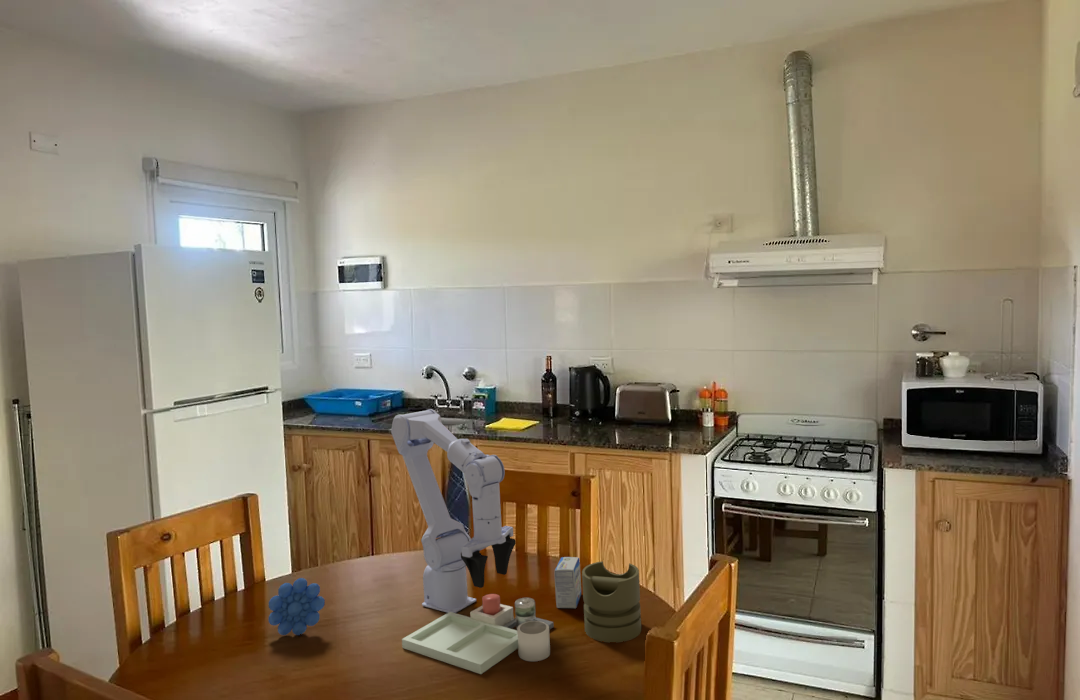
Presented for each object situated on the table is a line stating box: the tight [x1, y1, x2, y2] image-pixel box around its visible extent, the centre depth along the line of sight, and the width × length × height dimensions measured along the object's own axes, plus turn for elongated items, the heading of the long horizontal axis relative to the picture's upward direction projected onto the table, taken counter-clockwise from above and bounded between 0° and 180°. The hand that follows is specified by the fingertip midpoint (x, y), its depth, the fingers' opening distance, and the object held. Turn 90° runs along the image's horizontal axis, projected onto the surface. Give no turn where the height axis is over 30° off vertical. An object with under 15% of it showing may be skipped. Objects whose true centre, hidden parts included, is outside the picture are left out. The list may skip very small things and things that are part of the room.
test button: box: [481, 593, 501, 616], centre depth 152 cm, size 4×4×4 cm
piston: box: [581, 560, 642, 643], centre depth 147 cm, size 11×12×11 cm
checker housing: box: [469, 603, 515, 626], centre depth 152 cm, size 6×6×3 cm
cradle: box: [503, 617, 555, 631], centre depth 149 cm, size 8×8×1 cm
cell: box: [514, 597, 537, 630], centre depth 148 cm, size 4×4×6 cm
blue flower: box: [268, 577, 326, 636], centre depth 152 cm, size 12×7×12 cm, turn 94°
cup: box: [517, 621, 551, 662], centre depth 139 cm, size 6×6×5 cm
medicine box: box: [554, 556, 582, 609], centre depth 161 cm, size 8×4×9 cm, turn 168°
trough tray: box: [401, 612, 518, 675], centre depth 144 cm, size 20×14×2 cm
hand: (490, 579), depth 152 cm, fingers open, 7 cm apart
